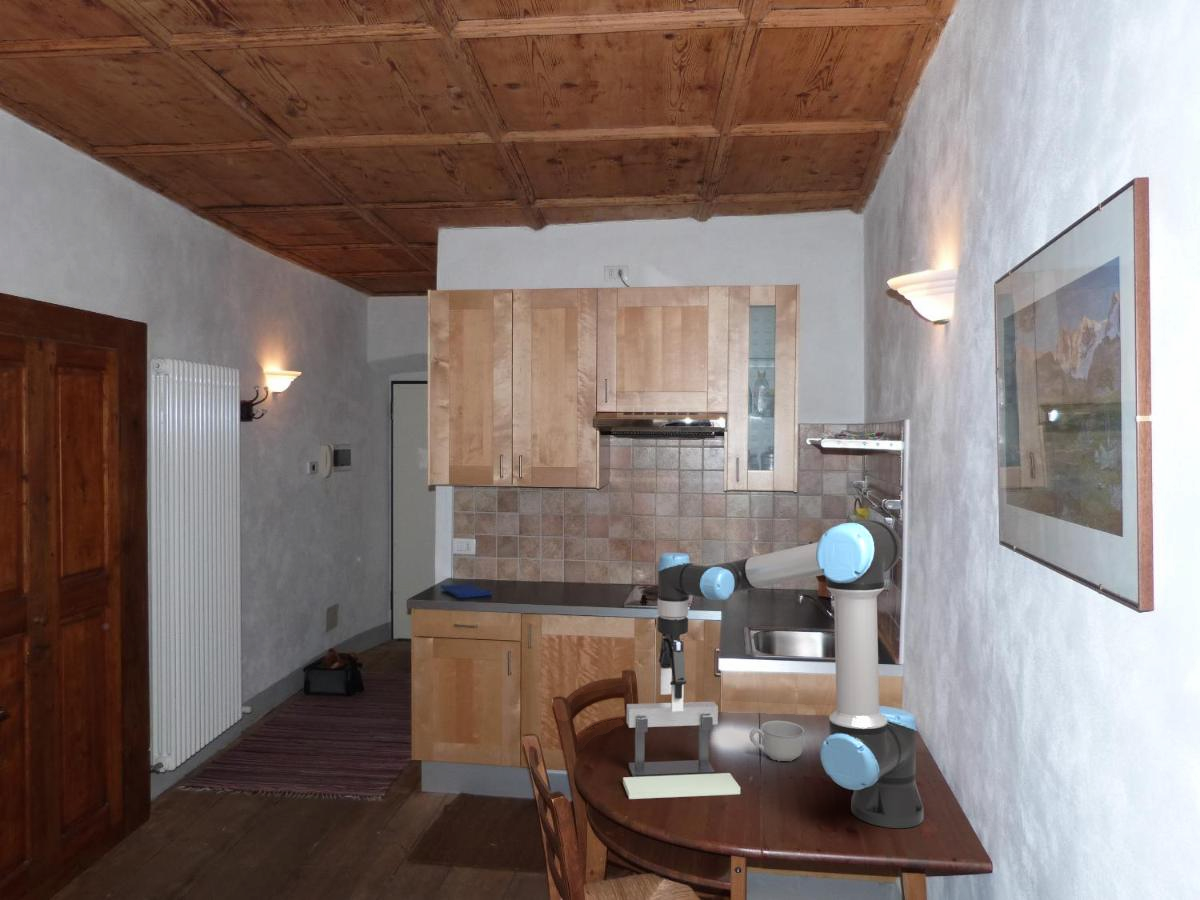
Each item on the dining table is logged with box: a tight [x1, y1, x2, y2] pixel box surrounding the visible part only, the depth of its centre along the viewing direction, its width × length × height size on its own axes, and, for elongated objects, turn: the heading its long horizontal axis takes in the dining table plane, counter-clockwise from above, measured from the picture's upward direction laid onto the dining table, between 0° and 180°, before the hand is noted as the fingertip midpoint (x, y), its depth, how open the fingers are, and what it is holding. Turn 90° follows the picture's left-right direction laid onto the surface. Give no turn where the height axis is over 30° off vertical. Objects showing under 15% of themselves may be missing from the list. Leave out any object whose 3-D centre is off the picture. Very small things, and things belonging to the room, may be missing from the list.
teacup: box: [749, 720, 805, 762], centre depth 228 cm, size 14×11×8 cm
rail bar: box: [626, 701, 719, 729], centre depth 218 cm, size 4×22×4 cm, turn 97°
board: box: [622, 772, 741, 800], centre depth 207 cm, size 9×26×2 cm, turn 97°
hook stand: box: [628, 715, 717, 777], centre depth 218 cm, size 8×20×14 cm, turn 97°
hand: (671, 702), depth 218 cm, fingers open, 13 cm apart
